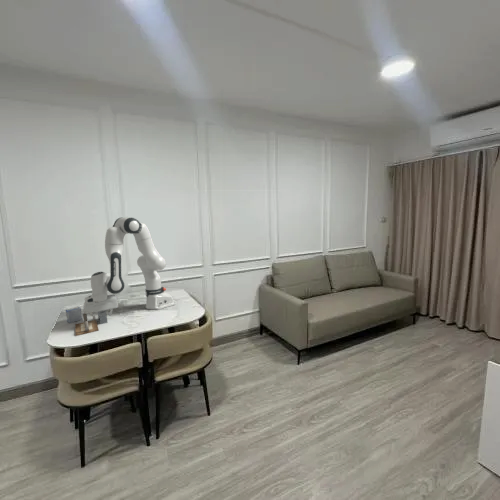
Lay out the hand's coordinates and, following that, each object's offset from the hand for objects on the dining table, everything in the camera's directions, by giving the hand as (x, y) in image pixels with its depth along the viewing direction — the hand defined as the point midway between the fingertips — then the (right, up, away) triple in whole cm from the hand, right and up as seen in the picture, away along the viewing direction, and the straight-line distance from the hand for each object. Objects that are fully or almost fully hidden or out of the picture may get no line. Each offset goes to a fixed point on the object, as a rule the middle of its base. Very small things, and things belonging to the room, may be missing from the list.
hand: (102, 316), depth 187 cm
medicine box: (-21, -4, +4) cm, 21 cm away
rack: (-5, -5, -9) cm, 11 cm away
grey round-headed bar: (0, -3, +2) cm, 3 cm away
